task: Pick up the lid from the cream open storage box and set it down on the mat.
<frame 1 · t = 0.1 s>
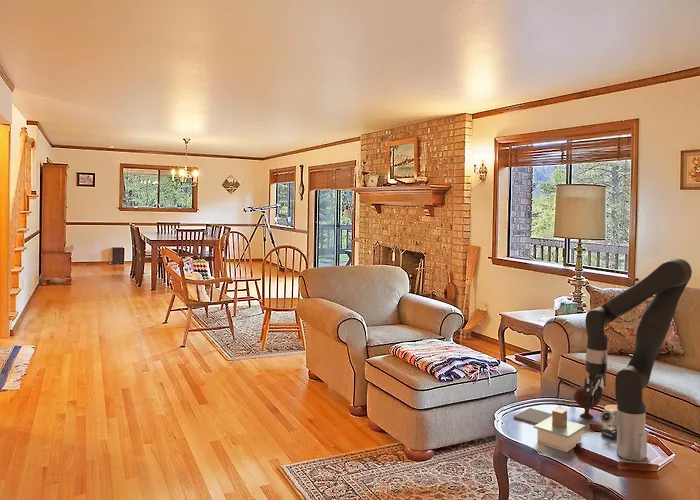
hand: (594, 401, 220), 17 cm above the table, tool pointing down, fingers open, 8 cm apart
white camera: (617, 427, 238), on the table
cream open storage box: (559, 442, 224), on the table
lid: (559, 427, 223), point 6 cm above the table, touching cream open storage box
watch: (610, 437, 228), on the table
mat: (538, 418, 249), on the table
ice cream bowl: (586, 417, 249), on the table
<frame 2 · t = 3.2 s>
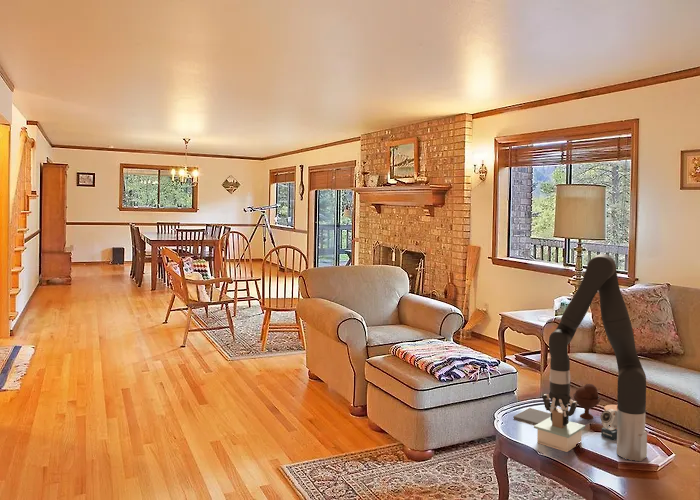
hand: (559, 423, 223), 8 cm above the table, tool pointing down, fingers closed on lid, 4 cm apart
lid: (559, 427, 223), point 6 cm above the table, touching cream open storage box, gripper
everything else where it was.
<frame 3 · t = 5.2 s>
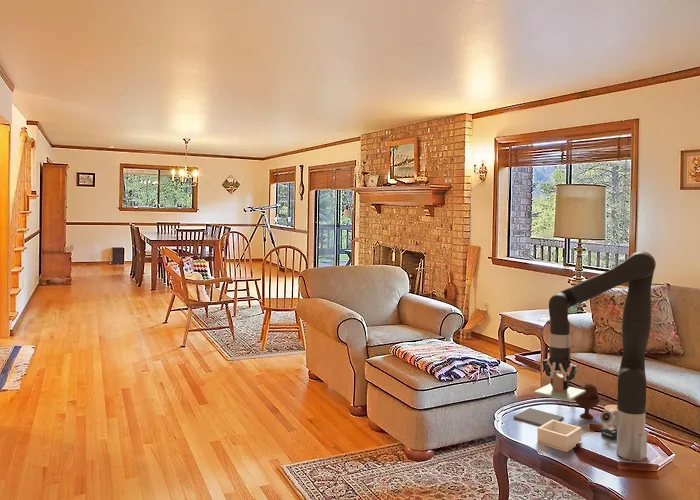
hand: (559, 388, 222), 22 cm above the table, tool pointing down, fingers closed on lid, 4 cm apart
lid: (559, 392, 222), point 20 cm above the table, touching gripper
everything else where it was.
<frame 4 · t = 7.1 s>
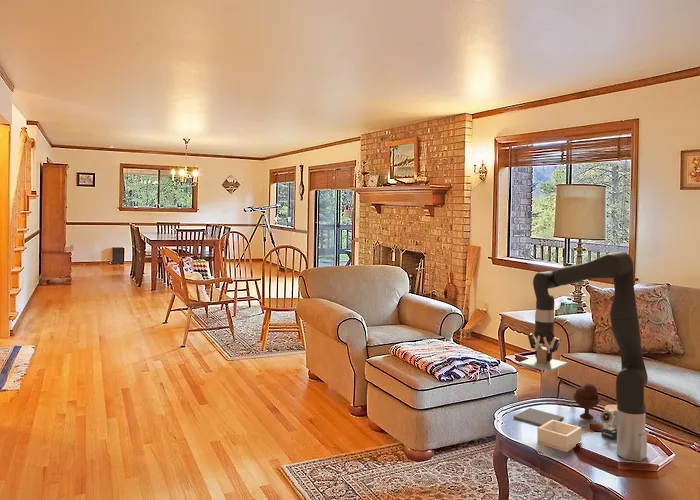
hand: (543, 360, 239), 28 cm above the table, tool pointing down, fingers closed on lid, 4 cm apart
lid: (543, 364, 239), point 26 cm above the table, touching gripper
everything else where it was.
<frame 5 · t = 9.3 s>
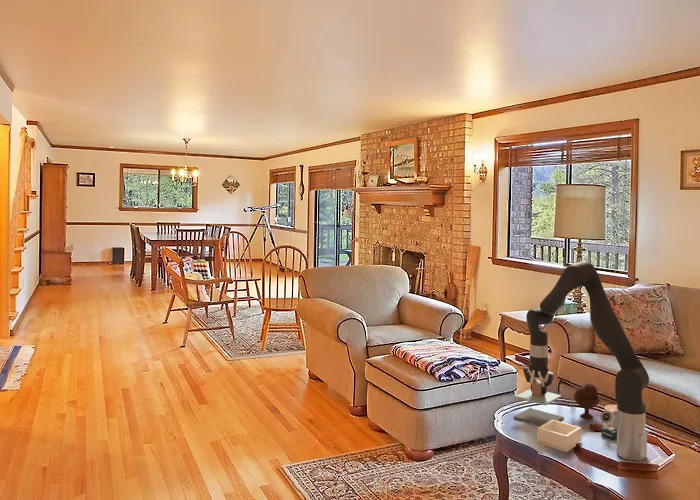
hand: (538, 393, 248), 11 cm above the table, tool pointing down, fingers closed on lid, 4 cm apart
lid: (538, 397, 248), point 10 cm above the table, touching gripper
everything else where it was.
when the fingers open (5 cm above the table, at t = 11.0 s): lid drops 1 cm, resting on mat.
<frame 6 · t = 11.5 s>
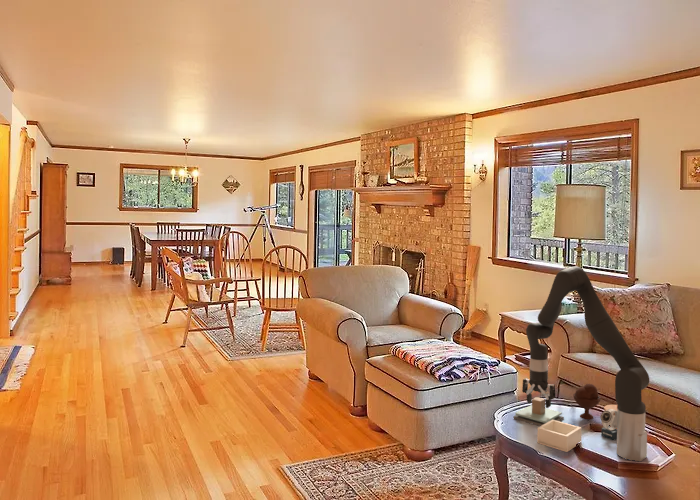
hand: (538, 405, 248), 6 cm above the table, tool pointing down, fingers open, 8 cm apart
lid: (538, 414, 248), point 2 cm above the table, touching mat
everything else where it was.
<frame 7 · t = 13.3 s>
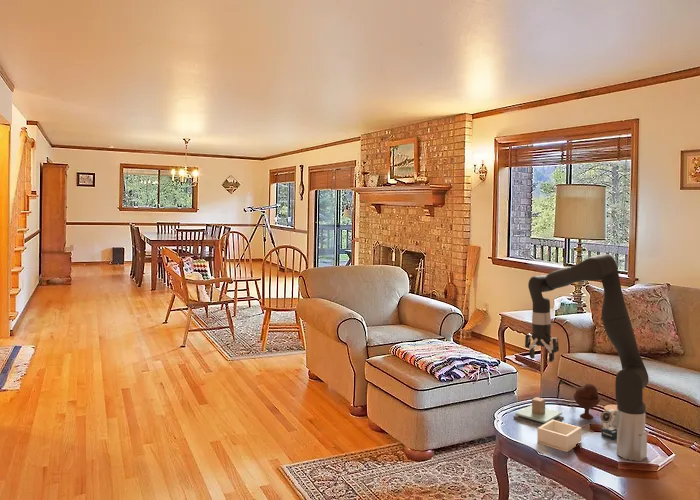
hand: (541, 359, 245), 26 cm above the table, tool pointing down, fingers open, 8 cm apart
nothing on the table moved.
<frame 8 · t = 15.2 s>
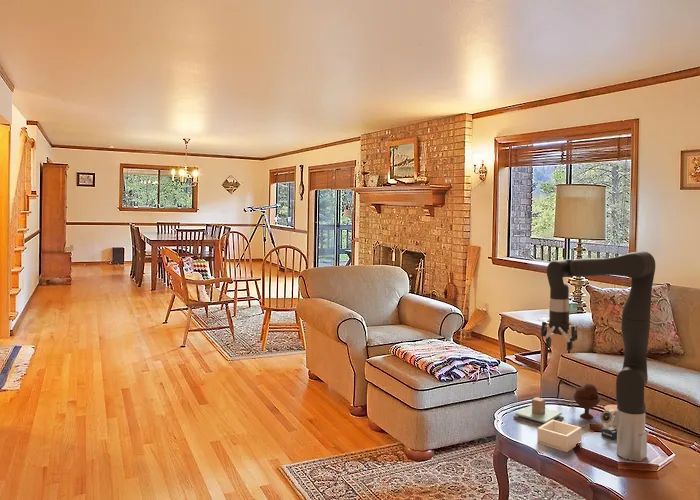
hand: (558, 348, 233), 34 cm above the table, tool pointing down, fingers open, 8 cm apart
nothing on the table moved.
at the end: lid inside the target area on the mat (0.1 cm from its centre), point 2.0 cm above the mat's base; lid tilted 0°; the gripper is holding nothing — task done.
